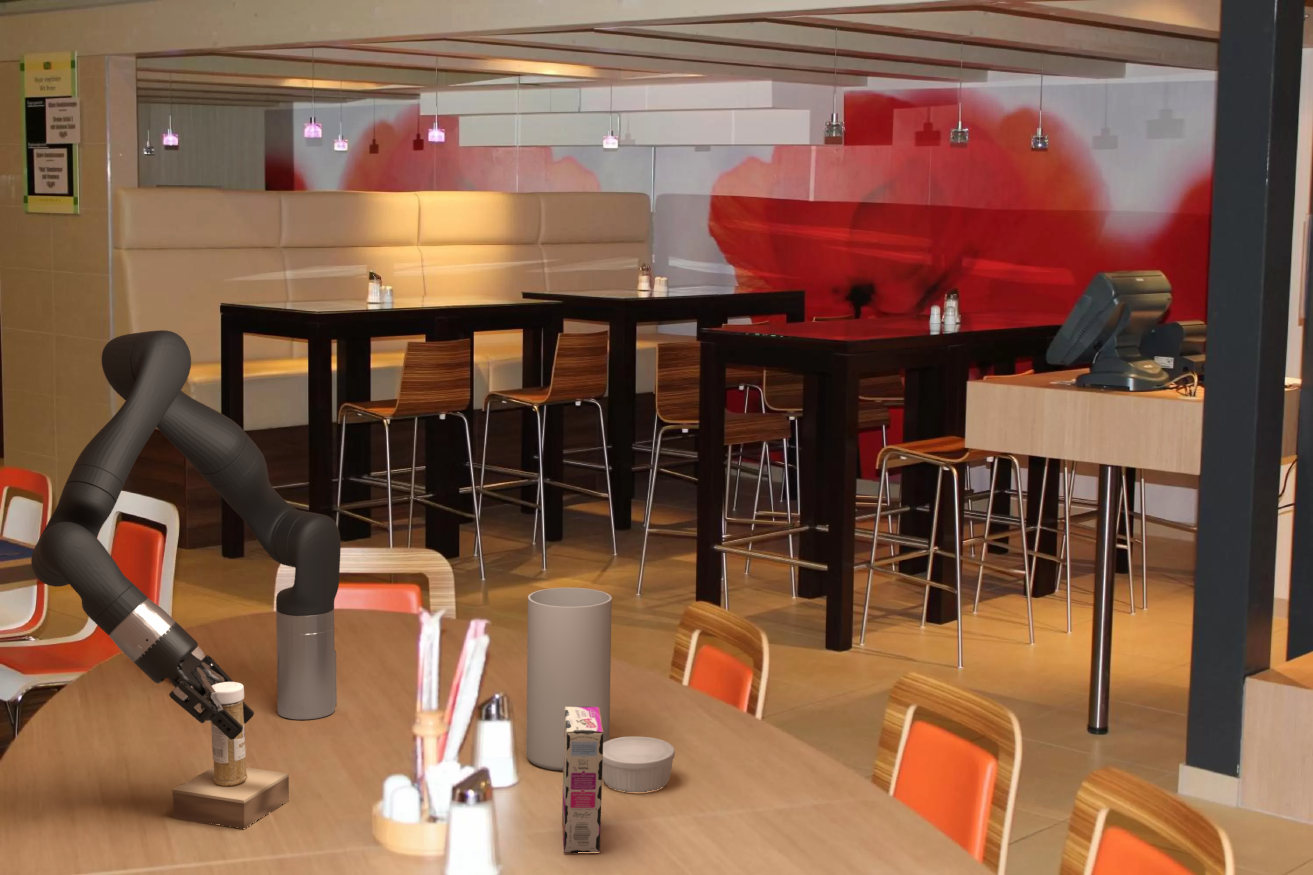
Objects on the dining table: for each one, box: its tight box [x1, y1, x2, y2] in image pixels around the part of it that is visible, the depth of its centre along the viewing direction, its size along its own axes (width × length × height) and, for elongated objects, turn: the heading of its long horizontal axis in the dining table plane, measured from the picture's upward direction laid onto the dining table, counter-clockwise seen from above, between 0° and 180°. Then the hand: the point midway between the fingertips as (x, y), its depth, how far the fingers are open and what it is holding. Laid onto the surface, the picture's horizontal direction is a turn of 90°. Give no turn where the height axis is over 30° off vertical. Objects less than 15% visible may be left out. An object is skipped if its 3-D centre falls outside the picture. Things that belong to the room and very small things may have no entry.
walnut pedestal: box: [172, 766, 290, 829], centre depth 211 cm, size 11×11×4 cm
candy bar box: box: [561, 707, 603, 854], centre depth 203 cm, size 11×5×16 cm, turn 5°
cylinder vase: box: [525, 587, 613, 772], centre depth 233 cm, size 12×12×25 cm
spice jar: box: [210, 681, 247, 786], centre depth 210 cm, size 5×5×13 cm
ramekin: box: [602, 735, 676, 792], centre depth 225 cm, size 11×11×5 cm
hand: (243, 726), depth 210 cm, fingers open, 6 cm apart
